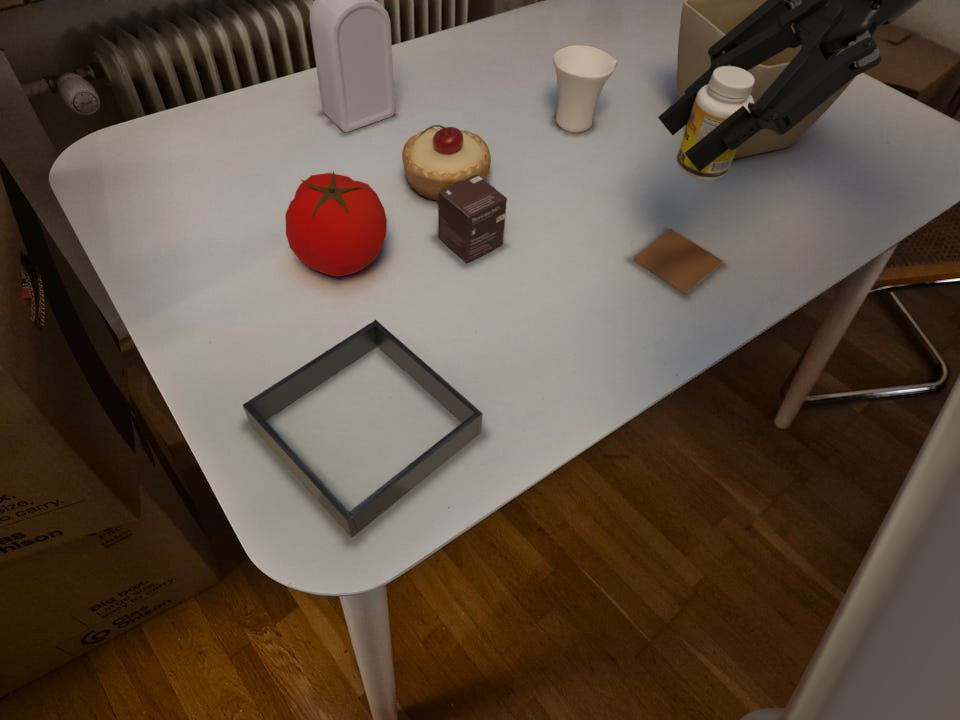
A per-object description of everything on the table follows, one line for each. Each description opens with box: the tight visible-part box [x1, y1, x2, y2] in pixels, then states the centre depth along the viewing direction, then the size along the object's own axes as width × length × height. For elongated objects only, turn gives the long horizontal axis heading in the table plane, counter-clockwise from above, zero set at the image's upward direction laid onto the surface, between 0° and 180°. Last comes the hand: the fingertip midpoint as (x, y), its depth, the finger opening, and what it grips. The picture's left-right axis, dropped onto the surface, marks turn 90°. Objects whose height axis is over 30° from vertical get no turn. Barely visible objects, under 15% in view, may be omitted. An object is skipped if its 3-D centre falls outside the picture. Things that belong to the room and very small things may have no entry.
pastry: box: [401, 124, 492, 201], centre depth 88 cm, size 12×12×9 cm
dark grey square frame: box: [242, 319, 484, 538], centre depth 65 cm, size 16×16×4 cm
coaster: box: [632, 228, 724, 295], centre depth 84 cm, size 8×8×1 cm
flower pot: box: [676, 0, 857, 160], centre depth 96 cm, size 19×19×17 cm
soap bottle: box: [309, 0, 396, 133], centre depth 91 cm, size 9×7×23 cm
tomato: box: [285, 170, 388, 277], centre depth 77 cm, size 12×12×11 cm
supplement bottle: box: [676, 66, 755, 182], centre depth 67 cm, size 6×6×10 cm
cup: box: [552, 44, 619, 134], centre depth 98 cm, size 9×9×10 cm
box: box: [437, 175, 508, 263], centre depth 81 cm, size 6×6×7 cm
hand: (678, 143), depth 68 cm, fingers closed on supplement bottle, 6 cm apart
